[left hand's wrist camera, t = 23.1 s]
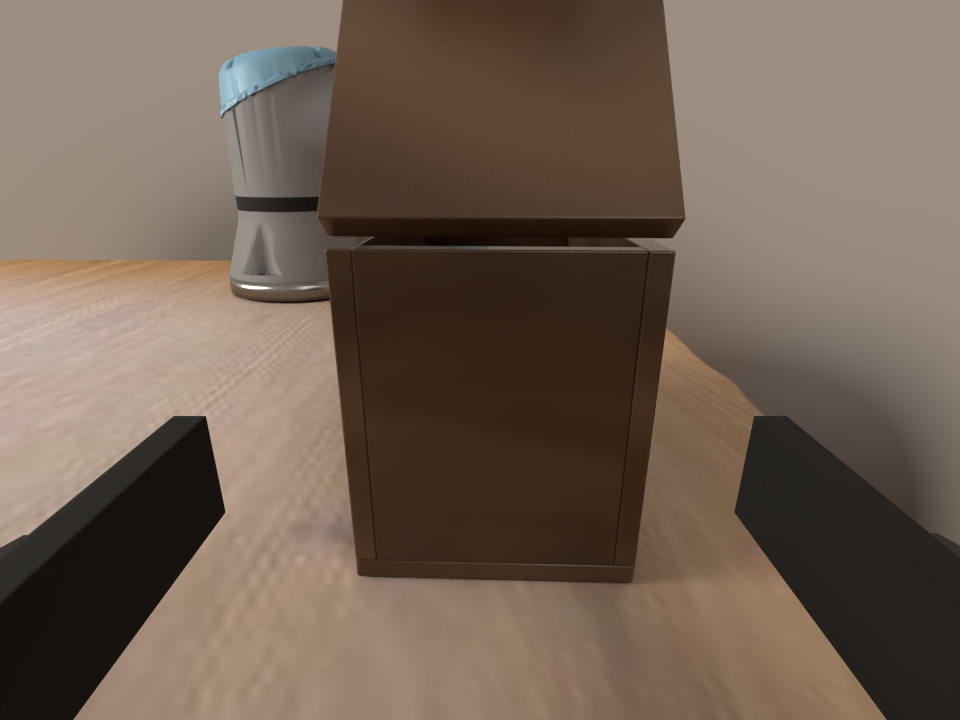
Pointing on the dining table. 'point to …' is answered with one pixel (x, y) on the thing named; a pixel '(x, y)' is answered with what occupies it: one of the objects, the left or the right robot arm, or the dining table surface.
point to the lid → (502, 121)
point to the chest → (498, 401)
